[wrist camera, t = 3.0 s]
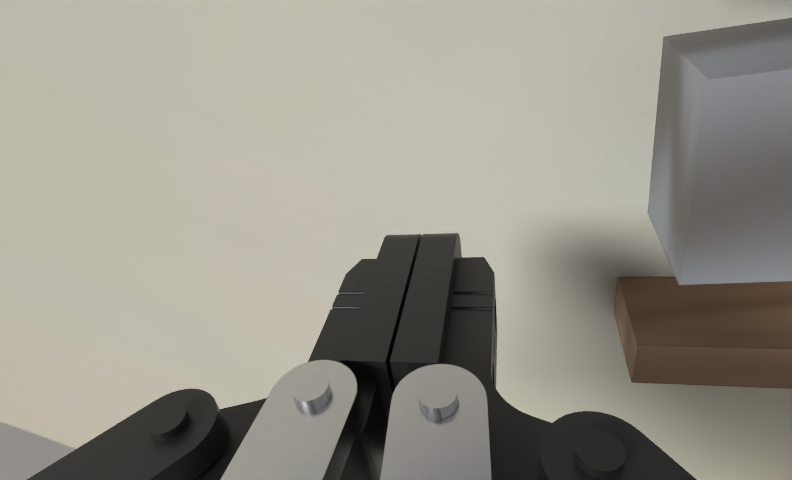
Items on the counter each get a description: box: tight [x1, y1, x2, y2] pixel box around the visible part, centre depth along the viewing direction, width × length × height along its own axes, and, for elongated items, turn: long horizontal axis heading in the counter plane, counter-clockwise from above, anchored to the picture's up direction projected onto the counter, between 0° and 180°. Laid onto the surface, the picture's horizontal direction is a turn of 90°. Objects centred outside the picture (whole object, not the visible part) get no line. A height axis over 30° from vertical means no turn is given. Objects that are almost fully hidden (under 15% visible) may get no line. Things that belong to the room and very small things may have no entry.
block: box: [648, 18, 792, 285], centre depth 12 cm, size 5×5×4 cm
